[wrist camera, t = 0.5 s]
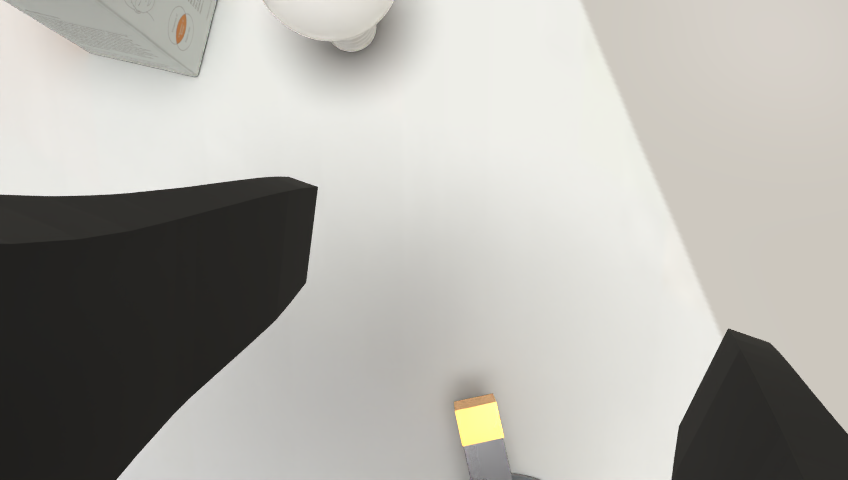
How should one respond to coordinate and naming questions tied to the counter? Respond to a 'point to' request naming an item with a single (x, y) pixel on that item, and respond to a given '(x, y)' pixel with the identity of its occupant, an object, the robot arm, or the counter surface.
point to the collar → (482, 438)
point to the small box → (131, 28)
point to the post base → (522, 477)
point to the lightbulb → (332, 19)
